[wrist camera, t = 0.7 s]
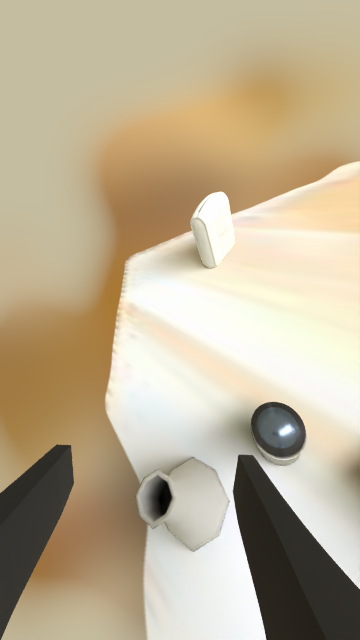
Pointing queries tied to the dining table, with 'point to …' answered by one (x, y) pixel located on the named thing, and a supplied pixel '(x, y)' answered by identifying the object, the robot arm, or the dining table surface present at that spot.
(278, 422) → the lens
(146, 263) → the dining table surface
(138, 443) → the dining table surface
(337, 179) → the dining table surface
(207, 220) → the white rounded slab
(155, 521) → the flask
